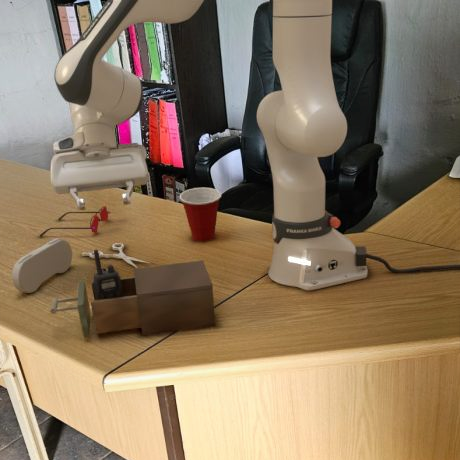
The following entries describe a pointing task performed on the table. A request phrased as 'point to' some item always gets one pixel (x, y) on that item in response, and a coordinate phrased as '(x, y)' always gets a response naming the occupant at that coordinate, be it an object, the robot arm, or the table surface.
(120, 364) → the table surface
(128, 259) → the scissors
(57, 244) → the game controller
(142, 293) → the cabinet
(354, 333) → the table surface
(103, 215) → the glasses
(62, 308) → the drawer
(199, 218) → the plastic cup
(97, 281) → the two-way radio
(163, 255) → the table surface
